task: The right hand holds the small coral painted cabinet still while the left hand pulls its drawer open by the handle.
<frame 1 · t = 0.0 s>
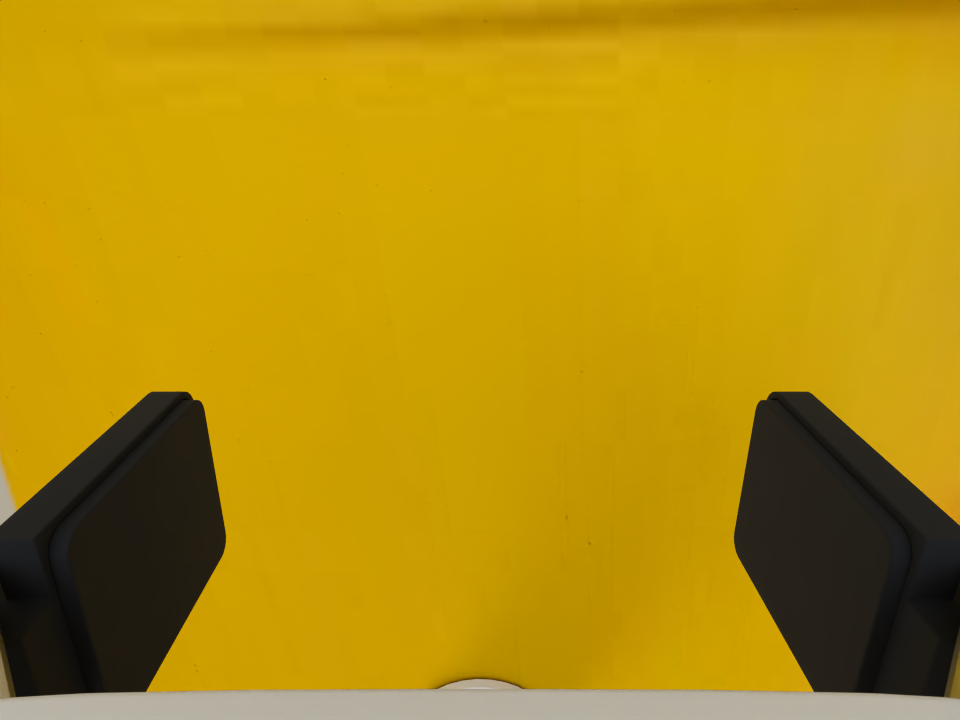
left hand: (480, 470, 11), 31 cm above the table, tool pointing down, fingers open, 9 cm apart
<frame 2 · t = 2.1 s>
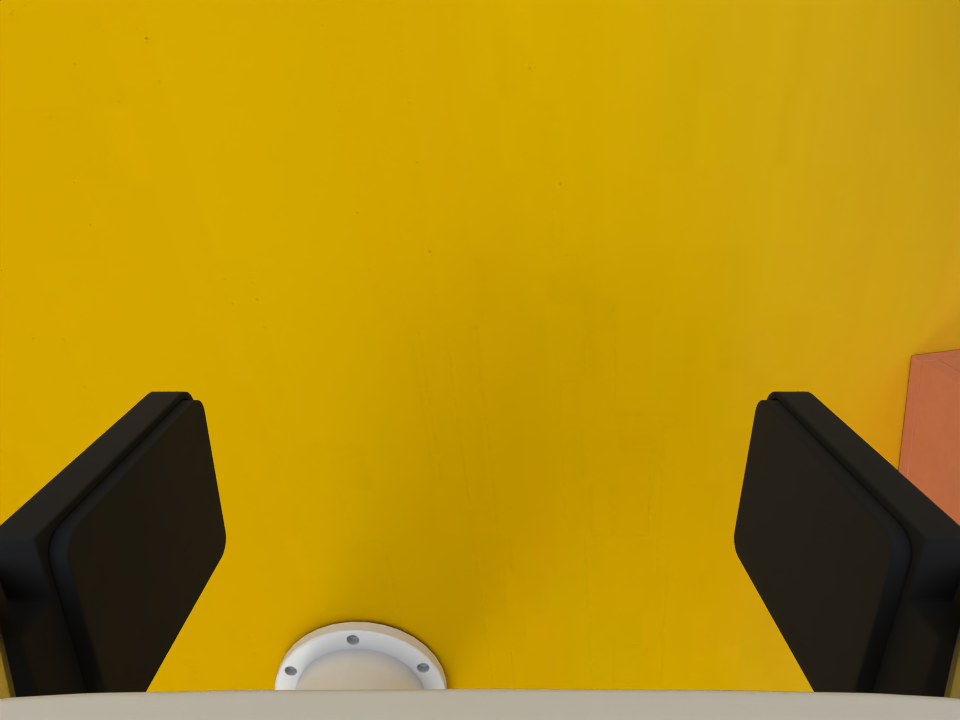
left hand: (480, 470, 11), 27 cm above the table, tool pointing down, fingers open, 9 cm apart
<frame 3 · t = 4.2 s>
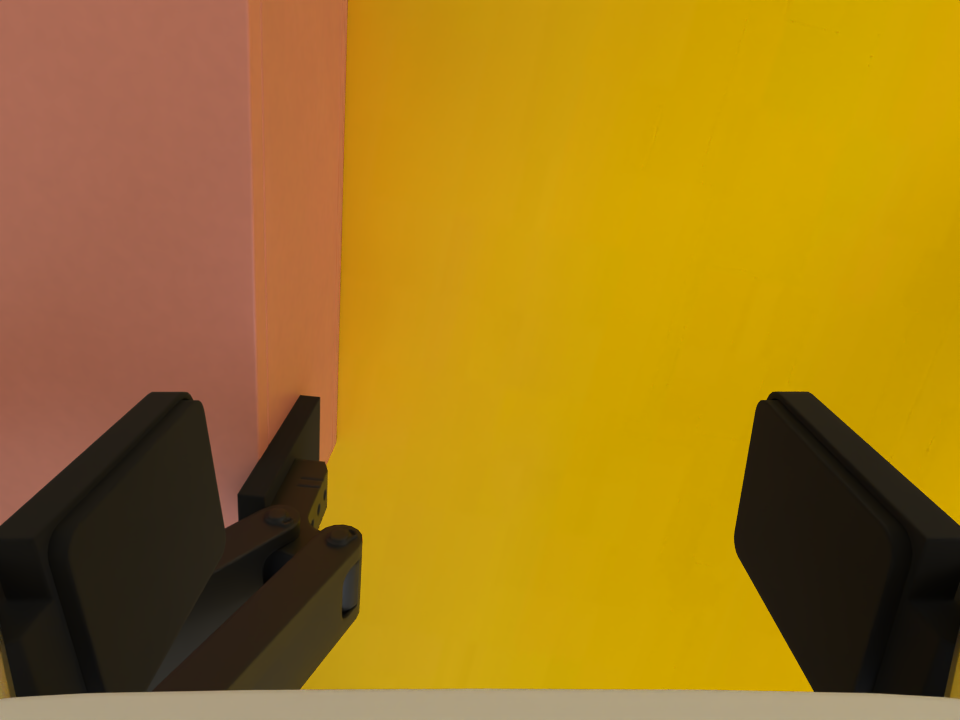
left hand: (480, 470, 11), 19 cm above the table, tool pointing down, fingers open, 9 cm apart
cabinet: (213, 219, 29), on the table, touching right hand
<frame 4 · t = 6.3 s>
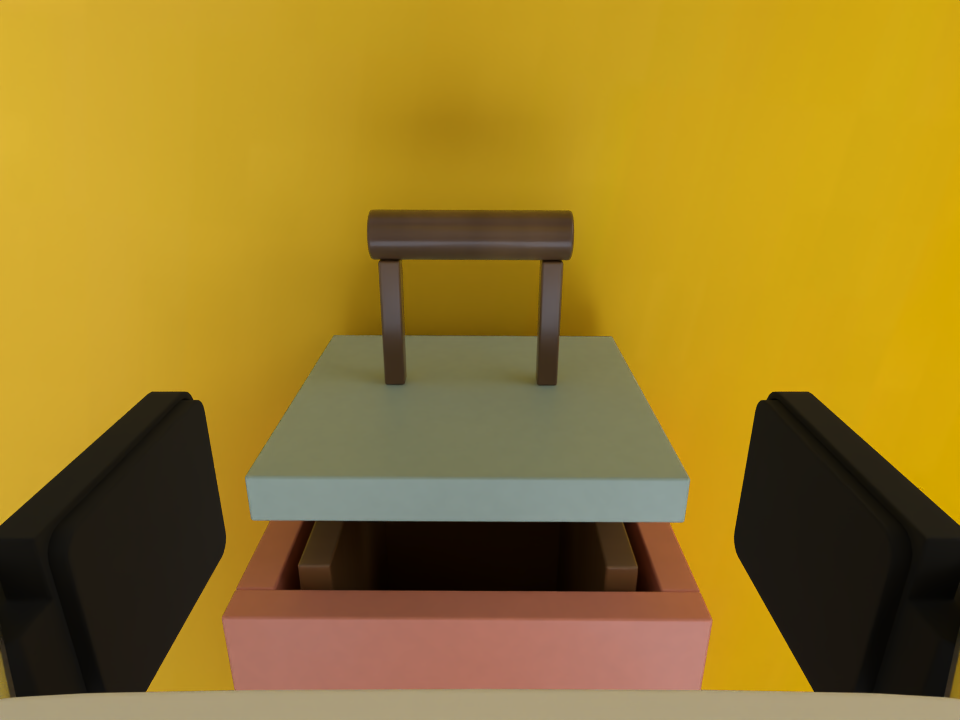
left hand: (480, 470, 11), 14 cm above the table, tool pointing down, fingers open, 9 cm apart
cabinet: (473, 613, 29), on the table, touching right hand
drawer: (471, 591, 22), point 6 cm above the table, slide at 1.9 cm
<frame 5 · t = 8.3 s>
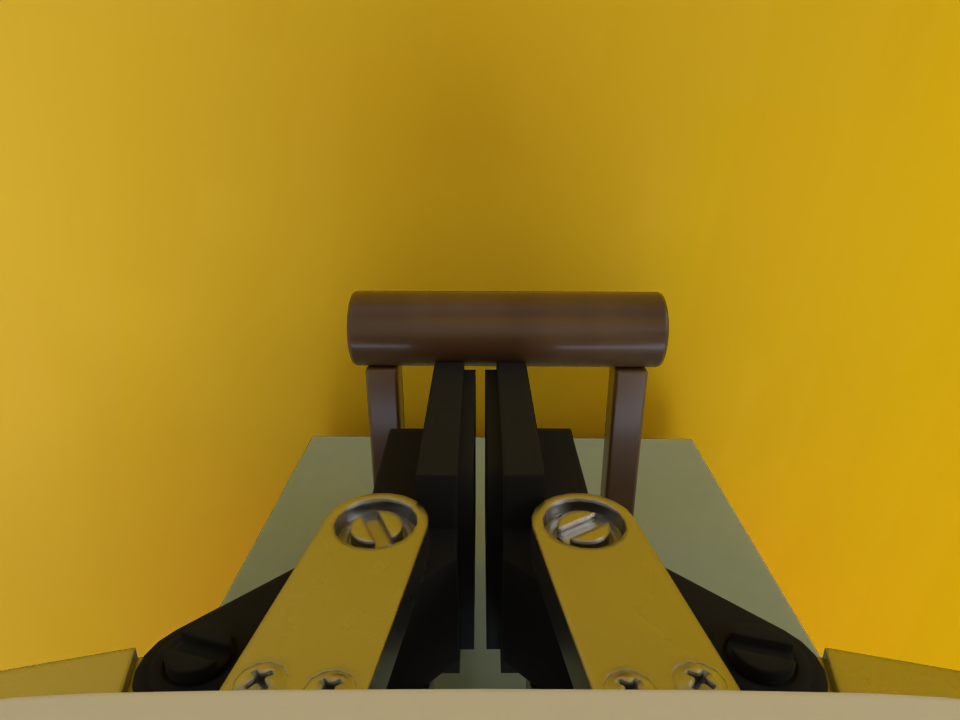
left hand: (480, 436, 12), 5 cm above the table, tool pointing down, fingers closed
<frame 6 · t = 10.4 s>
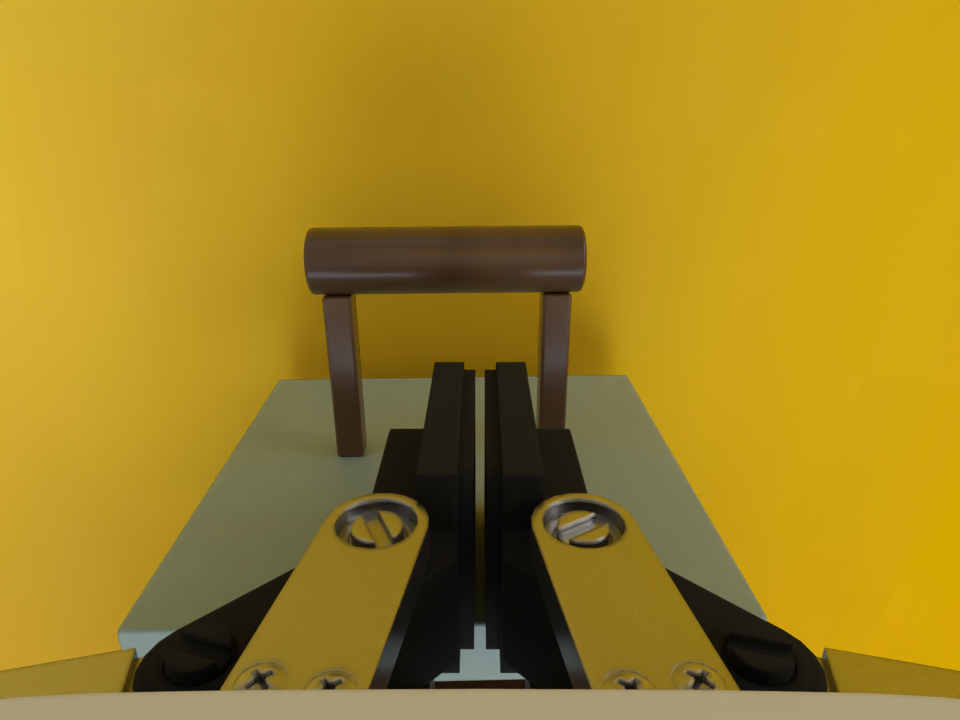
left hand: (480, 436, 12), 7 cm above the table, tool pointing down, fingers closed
drawer: (457, 705, 17), point 6 cm above the table, slide at 9.9 cm
when the right hand's fingers open (7 cm above the table, at t = 11.7 s): cabinet stays where it is, on the table.
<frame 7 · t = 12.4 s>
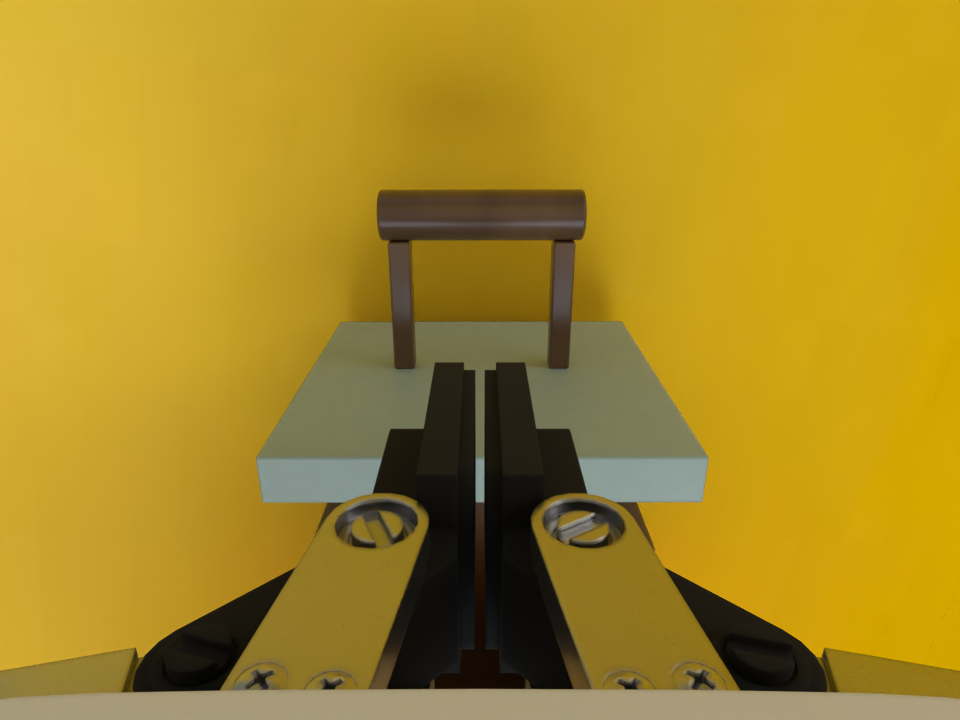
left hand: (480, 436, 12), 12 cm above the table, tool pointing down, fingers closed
drawer: (481, 578, 22), point 6 cm above the table, slide at 9.7 cm
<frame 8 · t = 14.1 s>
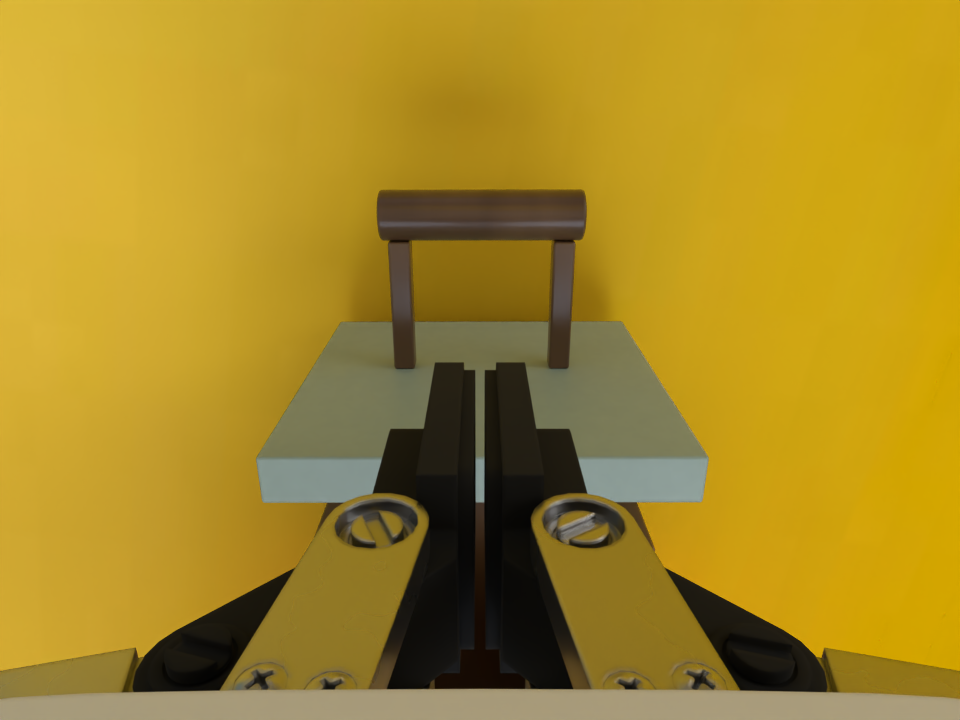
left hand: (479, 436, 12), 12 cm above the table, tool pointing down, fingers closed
drawer: (481, 578, 22), point 6 cm above the table, slide at 9.7 cm
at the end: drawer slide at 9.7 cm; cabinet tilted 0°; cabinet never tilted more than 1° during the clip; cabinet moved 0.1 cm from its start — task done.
